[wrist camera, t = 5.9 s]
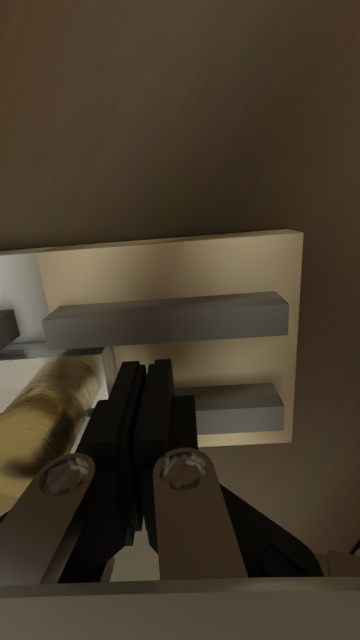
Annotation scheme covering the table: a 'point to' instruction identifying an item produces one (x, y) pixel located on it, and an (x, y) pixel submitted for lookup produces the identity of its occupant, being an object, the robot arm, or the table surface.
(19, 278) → the lock board
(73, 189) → the table surface
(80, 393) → the bolt
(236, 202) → the table surface
